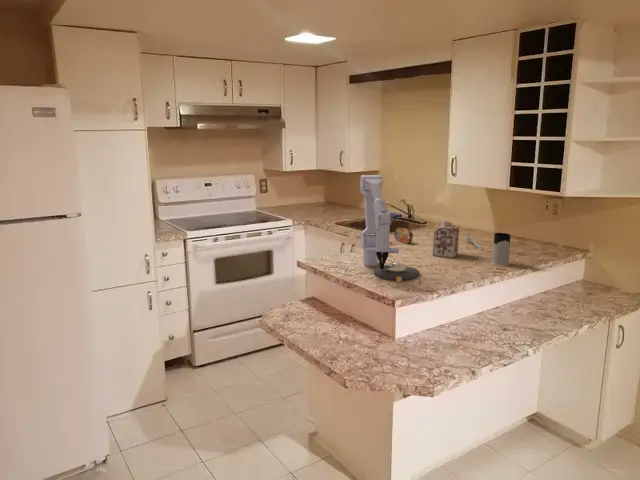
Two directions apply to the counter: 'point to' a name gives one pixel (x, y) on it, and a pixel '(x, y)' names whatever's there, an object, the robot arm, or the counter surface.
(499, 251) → the glass holder
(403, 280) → the base
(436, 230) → the decorative jar
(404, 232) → the tin
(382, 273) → the turntable
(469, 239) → the caliper
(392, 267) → the cover
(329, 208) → the counter surface
